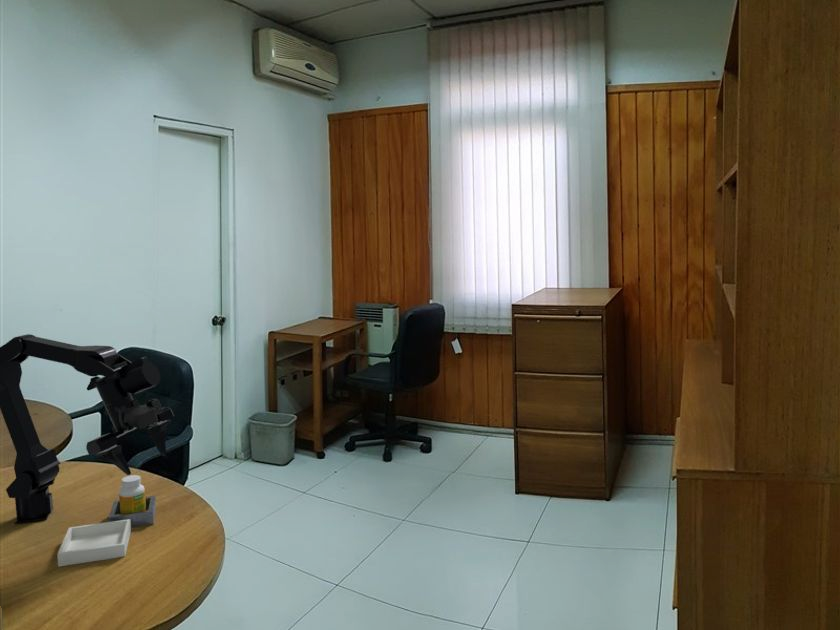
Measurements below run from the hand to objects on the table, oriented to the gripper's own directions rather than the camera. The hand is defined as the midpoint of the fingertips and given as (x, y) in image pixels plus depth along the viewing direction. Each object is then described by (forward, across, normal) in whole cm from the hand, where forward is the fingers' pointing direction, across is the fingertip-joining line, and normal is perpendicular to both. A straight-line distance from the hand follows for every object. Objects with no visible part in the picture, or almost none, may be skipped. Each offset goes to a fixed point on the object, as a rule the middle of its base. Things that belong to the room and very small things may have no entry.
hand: (147, 464), depth 141 cm
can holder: (+11, -2, +10) cm, 15 cm away
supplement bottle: (+11, -2, +10) cm, 15 cm away
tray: (+11, -15, +5) cm, 19 cm away
